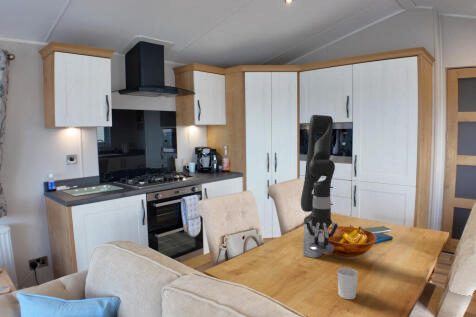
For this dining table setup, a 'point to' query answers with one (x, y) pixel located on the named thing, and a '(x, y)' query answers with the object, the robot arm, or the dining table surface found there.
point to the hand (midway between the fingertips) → (321, 245)
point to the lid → (321, 244)
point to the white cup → (347, 283)
